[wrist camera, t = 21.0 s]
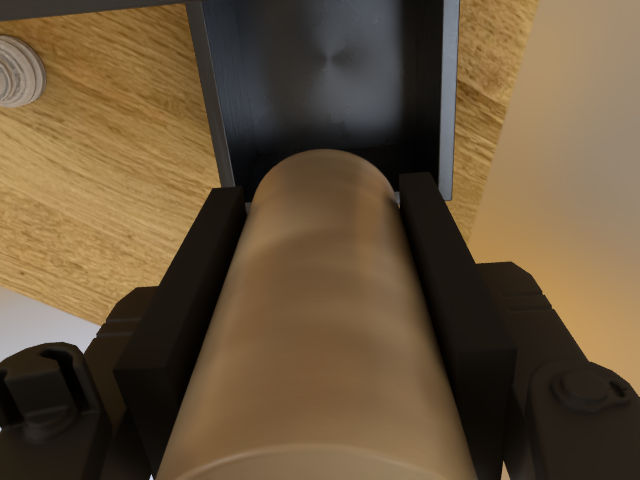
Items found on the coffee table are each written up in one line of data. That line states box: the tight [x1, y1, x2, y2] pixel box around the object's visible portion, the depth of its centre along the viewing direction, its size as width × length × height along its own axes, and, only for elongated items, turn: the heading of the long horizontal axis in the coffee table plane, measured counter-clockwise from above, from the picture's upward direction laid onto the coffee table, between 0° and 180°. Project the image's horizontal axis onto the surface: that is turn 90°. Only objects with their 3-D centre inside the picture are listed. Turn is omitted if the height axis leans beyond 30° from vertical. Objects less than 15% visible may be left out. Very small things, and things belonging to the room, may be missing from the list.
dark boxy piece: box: [185, 0, 460, 215], centre depth 28 cm, size 14×13×9 cm
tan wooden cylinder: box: [155, 149, 478, 480], centre depth 9 cm, size 4×4×9 cm
